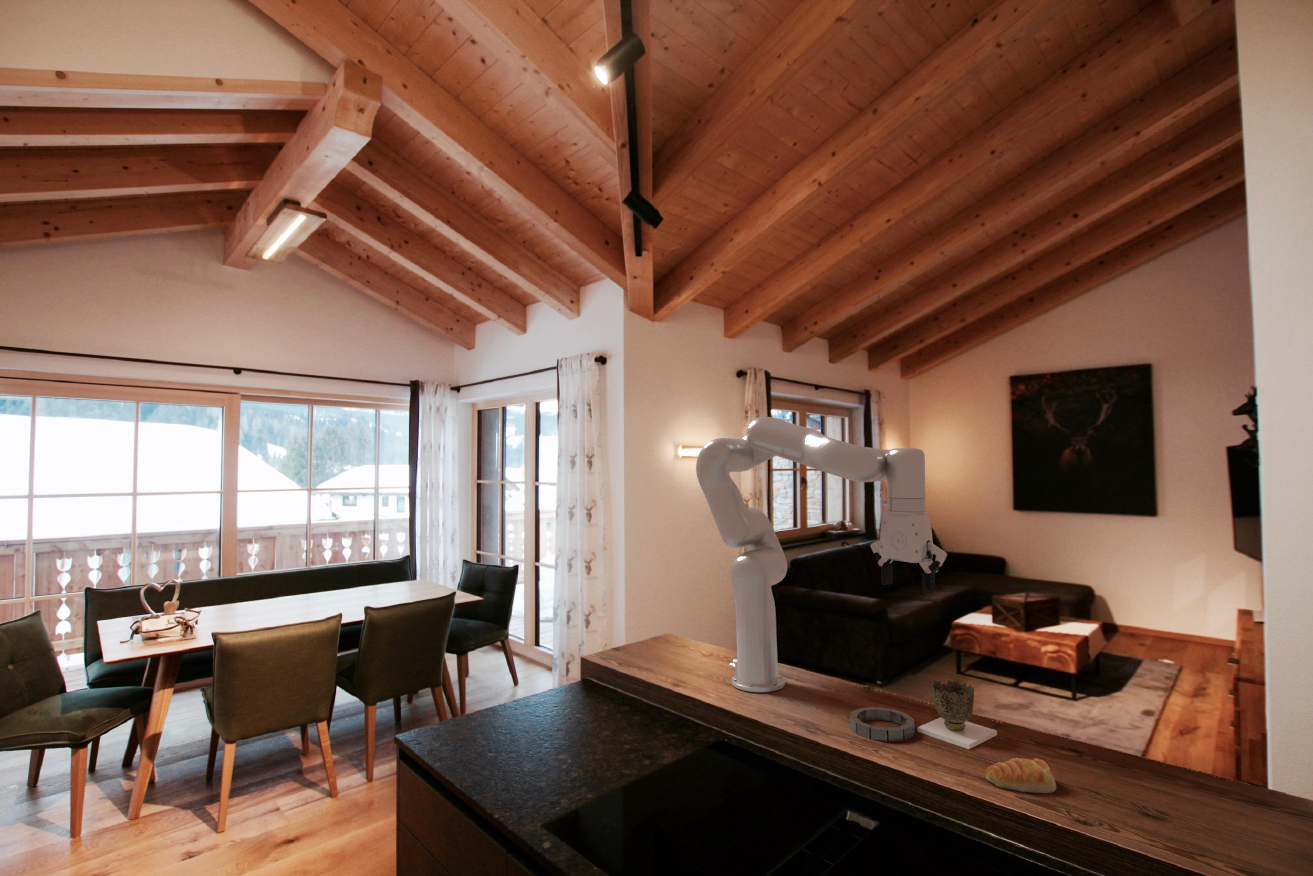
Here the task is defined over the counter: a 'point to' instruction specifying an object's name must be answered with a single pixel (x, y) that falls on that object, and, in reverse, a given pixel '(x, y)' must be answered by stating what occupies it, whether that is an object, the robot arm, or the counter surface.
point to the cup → (953, 703)
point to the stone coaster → (958, 733)
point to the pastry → (1022, 775)
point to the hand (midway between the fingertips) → (907, 588)
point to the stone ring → (881, 732)
